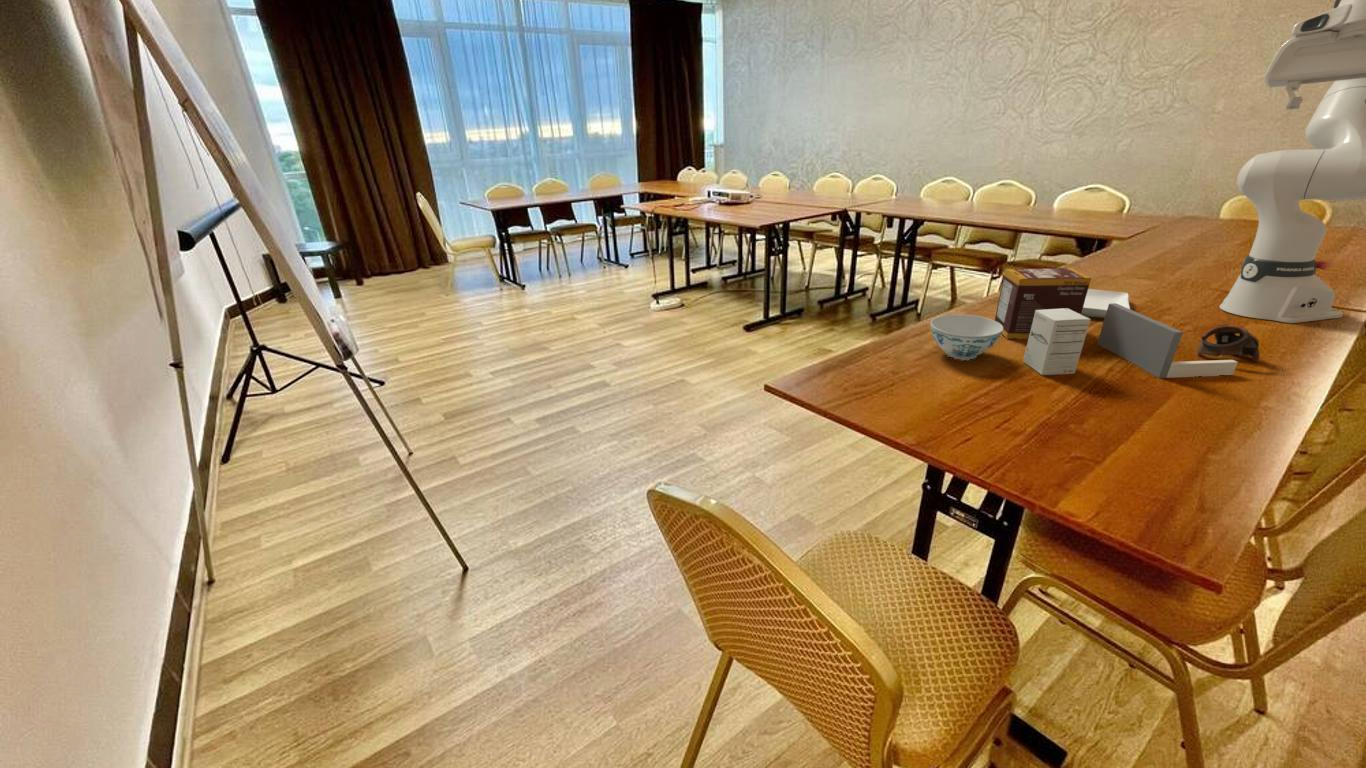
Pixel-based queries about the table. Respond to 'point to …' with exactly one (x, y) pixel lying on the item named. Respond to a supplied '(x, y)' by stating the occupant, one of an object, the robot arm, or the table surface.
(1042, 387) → the table surface
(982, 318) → the chinaware
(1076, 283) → the supplement box
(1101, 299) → the salad plate
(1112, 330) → the display stand
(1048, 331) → the supplement box
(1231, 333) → the pottery mug
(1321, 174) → the robot arm
